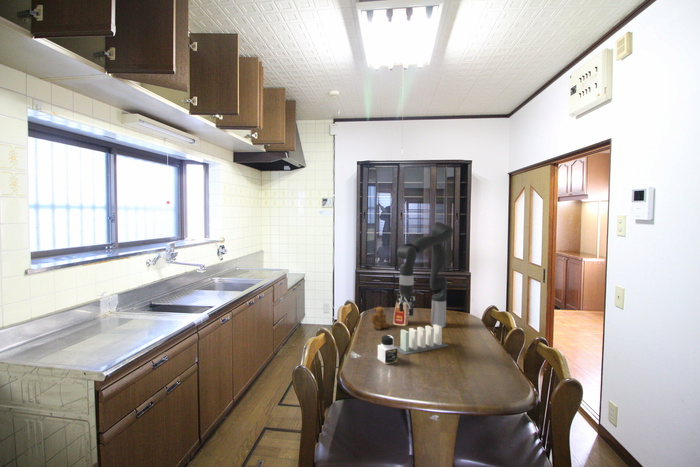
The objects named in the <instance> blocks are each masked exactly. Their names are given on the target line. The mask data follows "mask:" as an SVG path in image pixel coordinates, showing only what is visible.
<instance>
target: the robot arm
mask: <svg viewBox="0 0 700 467" xmlns="http://www.w3.org/2000/svg"><path fill="white" fill-rule="evenodd" d="M453 233H454V229H453V227H451V226H450V225H448V224H445V223H444V222H439V221H436V222H434V223H433V225H432V228H431V235H425V236H421V237H419V238H416V239H415V240H413V241H411V242H408V243H405V244H402V245H400V246H399V247H398V249H397V251H396V255H397V257H398V258H400V259H403V260H405V261H404V263H401V264H400V265H399V278H398V280H399V282H398V284H399V287H398V291H397V293H396V303H399V311H400V312H402V311H403V306H404V305H403V303H404V302H405V303H406V304H407V308H408V316H410V317H412V316H413V315H414V309H416V308H417V297H416V296H413V293H414V286H415V285H414V282H415V279H414V266H415V263H416V261H417V256H418V254H420V253H421V252H422V253H423V251H426V250H427V249H429V248H430V247H431V260H430V262H431V263H430V264H431V266H430V267H431V270H430V278H429V287H430V289H431V290H433V291H434V290H435V291H437V290H438V291H440V292H438V293H435V294H432V295H431V309H430V325H431V327H433V325H435V324H437V325H439V326H441V327H442V329H443V328H446V327H447V326H446V325H447V286H448V279H447V277H446V276H445V275H438V274H439V273H440V272H441V271H442V270H443V269H444V268H445V267H446V265H447V262H448V254H447V250H446V248H445V247H444V246H445V245H443V243H445V242H447V241H449V240H450V239H452V236H453ZM399 298H400V300H399Z"/></svg>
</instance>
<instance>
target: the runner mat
mask: <svg viewBox="0 0 700 467" xmlns="http://www.w3.org/2000/svg"><path fill="white" fill-rule="evenodd" d="M396 347H397V353H400V354H401V355H403V356H406V355H411V354H416V353H420V352H425V351H432V350H437V349H442V348H447V347H450V345H449V344H447V343H445V342H443V341H442V345H438V344H436V343H434V346H432V347H430V346H429V345H427V344H426V348H421V347H420V346H418V345H417V349H416V350H414V349H412V348H410V347H409V351H404V350H403V349H401V348H400V345H399V346H396Z"/></svg>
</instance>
